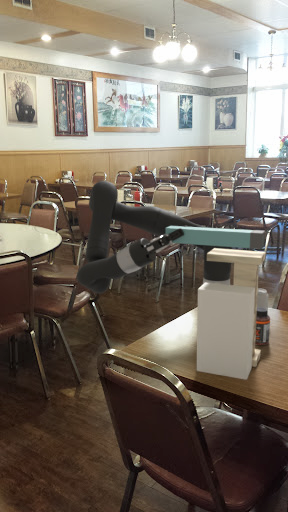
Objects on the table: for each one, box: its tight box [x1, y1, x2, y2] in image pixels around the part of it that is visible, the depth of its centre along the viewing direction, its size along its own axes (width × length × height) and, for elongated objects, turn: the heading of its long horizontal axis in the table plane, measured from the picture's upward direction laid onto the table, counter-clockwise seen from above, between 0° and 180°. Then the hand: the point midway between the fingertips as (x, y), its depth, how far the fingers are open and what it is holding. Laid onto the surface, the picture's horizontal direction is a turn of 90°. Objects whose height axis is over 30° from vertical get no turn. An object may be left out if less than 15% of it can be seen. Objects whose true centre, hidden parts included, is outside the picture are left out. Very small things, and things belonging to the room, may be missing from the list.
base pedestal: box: [196, 282, 255, 381], centre depth 129 cm, size 7×14×24 cm, turn 67°
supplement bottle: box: [255, 307, 271, 346], centre depth 149 cm, size 6×6×11 cm
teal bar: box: [166, 226, 266, 250], centre depth 125 cm, size 4×26×4 cm, turn 67°
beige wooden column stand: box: [207, 248, 266, 368], centre depth 136 cm, size 8×15×32 cm, turn 67°
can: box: [257, 287, 270, 315], centre depth 167 cm, size 8×8×12 cm
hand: (185, 230), depth 128 cm, fingers closed on teal bar, 4 cm apart
